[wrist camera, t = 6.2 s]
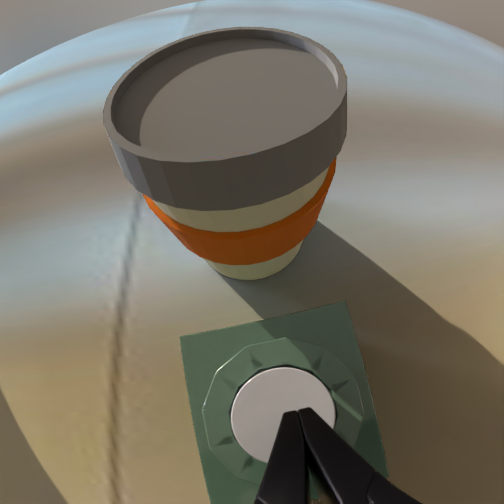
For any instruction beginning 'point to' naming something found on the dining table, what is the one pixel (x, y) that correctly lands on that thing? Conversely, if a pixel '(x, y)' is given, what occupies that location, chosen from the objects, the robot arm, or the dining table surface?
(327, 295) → the dining table surface
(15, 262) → the dining table surface
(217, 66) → the reusable coffee cup
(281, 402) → the white button cap
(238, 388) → the button housing
